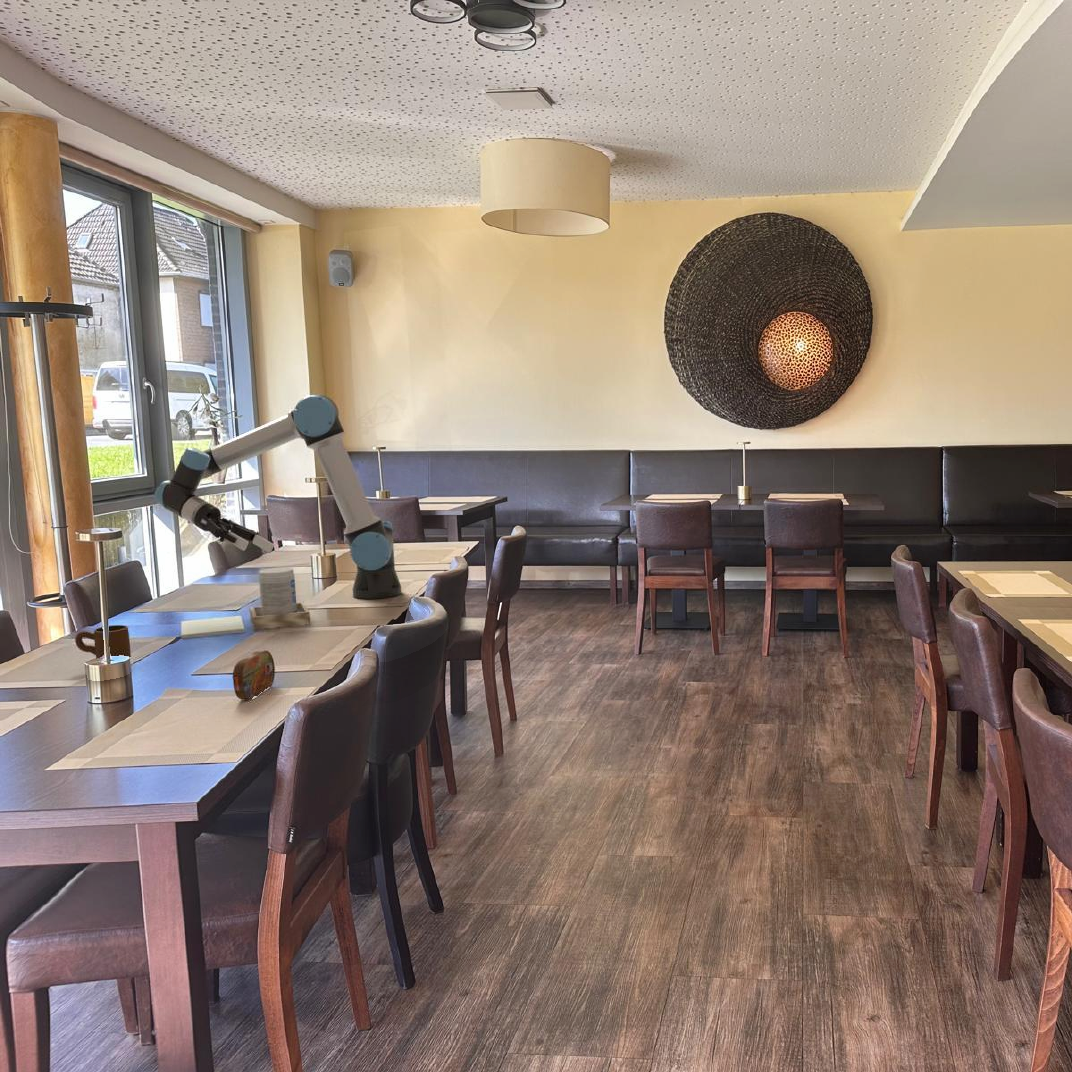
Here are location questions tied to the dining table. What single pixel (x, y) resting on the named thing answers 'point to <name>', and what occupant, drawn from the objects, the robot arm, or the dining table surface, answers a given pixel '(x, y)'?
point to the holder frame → (280, 618)
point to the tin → (253, 674)
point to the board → (211, 627)
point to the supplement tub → (277, 591)
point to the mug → (117, 641)
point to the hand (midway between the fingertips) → (259, 547)
